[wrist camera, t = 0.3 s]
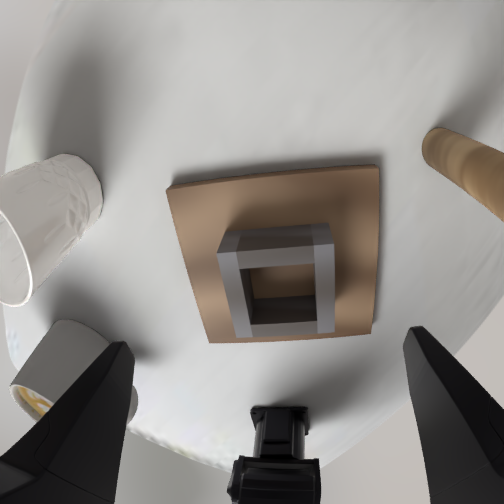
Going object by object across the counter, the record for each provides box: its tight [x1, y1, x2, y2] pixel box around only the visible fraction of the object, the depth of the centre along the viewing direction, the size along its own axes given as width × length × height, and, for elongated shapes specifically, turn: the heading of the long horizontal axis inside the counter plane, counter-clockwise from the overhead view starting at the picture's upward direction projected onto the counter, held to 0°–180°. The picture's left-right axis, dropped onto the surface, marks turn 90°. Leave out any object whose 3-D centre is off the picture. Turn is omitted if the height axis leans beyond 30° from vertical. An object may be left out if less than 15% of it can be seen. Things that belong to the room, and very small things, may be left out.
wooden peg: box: [422, 128, 504, 222], centre depth 13 cm, size 3×3×13 cm
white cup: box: [0, 154, 103, 307], centre depth 18 cm, size 8×8×10 cm
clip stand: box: [166, 165, 379, 343], centre depth 22 cm, size 14×14×4 cm
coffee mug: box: [9, 319, 138, 424], centre depth 28 cm, size 13×10×10 cm
